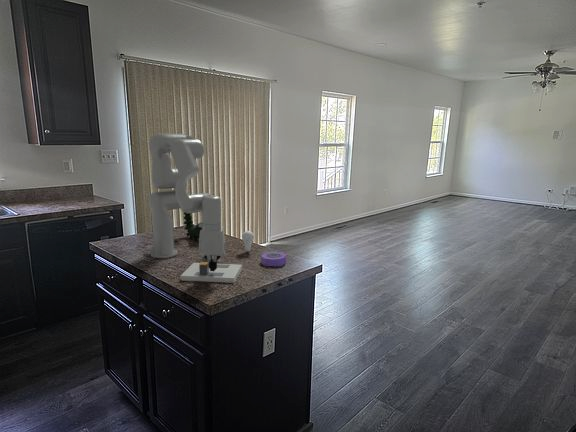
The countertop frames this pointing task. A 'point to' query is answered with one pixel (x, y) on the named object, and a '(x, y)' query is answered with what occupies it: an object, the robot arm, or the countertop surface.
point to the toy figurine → (191, 227)
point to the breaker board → (213, 273)
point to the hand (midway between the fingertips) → (213, 270)
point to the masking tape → (273, 259)
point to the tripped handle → (204, 268)
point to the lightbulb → (247, 239)
